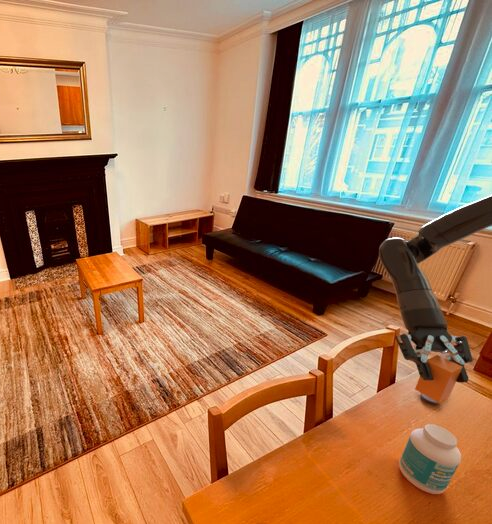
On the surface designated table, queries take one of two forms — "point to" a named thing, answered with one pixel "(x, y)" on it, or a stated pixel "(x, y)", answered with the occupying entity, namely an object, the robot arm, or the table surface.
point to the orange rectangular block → (439, 379)
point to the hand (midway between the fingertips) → (445, 381)
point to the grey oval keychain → (428, 400)
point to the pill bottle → (430, 458)
